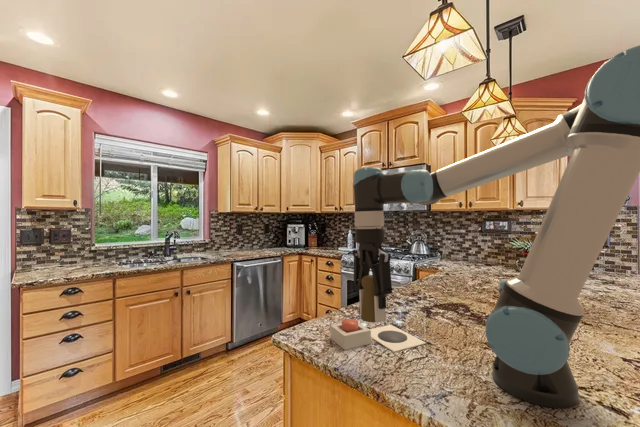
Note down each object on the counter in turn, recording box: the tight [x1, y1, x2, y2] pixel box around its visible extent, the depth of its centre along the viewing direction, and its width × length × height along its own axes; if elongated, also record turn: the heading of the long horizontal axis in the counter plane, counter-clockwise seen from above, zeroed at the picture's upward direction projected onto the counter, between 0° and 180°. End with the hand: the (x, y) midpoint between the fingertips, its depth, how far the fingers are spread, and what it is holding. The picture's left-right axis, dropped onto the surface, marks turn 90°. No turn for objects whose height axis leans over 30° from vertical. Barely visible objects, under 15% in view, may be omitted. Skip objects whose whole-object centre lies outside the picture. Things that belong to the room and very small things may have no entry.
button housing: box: [329, 322, 372, 351], centre depth 87 cm, size 9×9×4 cm
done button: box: [341, 318, 359, 333], centre depth 87 cm, size 5×5×3 cm
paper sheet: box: [368, 324, 427, 353], centre depth 89 cm, size 16×12×1 cm
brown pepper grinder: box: [360, 274, 376, 323], centre depth 73 cm, size 6×6×11 cm
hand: (372, 316), depth 73 cm, fingers closed on brown pepper grinder, 6 cm apart
